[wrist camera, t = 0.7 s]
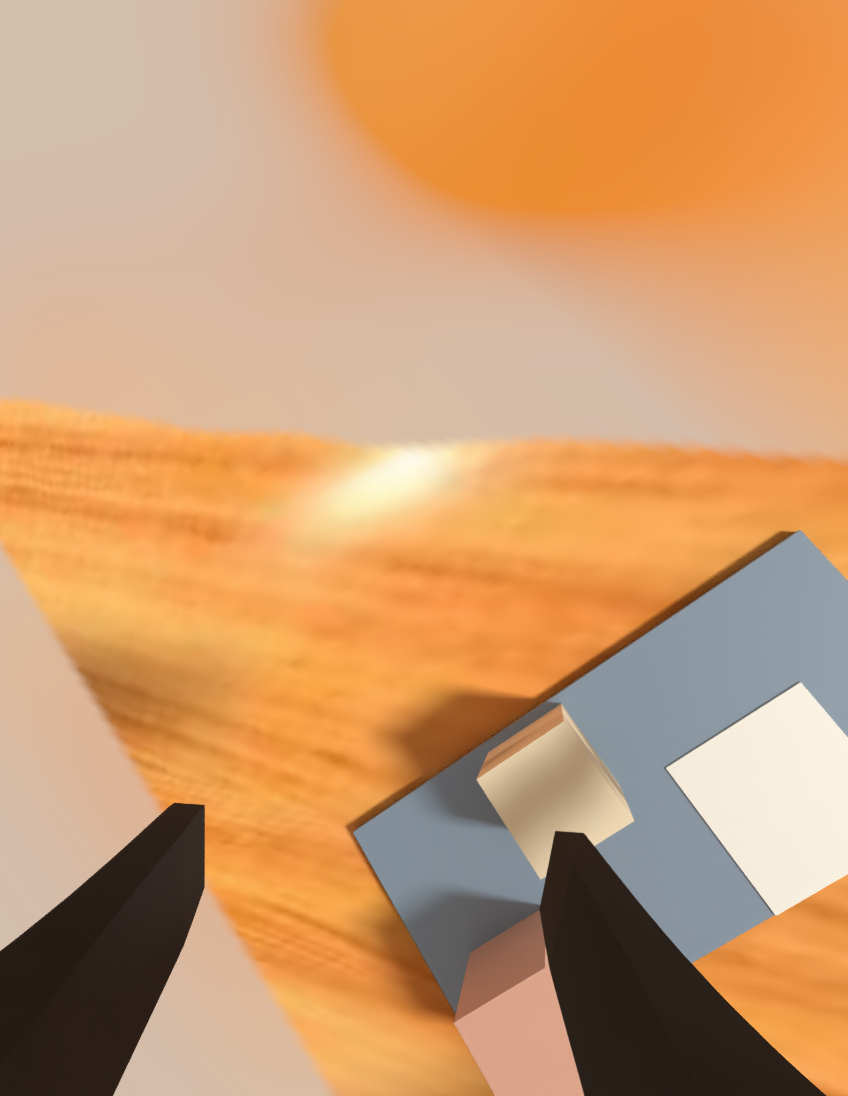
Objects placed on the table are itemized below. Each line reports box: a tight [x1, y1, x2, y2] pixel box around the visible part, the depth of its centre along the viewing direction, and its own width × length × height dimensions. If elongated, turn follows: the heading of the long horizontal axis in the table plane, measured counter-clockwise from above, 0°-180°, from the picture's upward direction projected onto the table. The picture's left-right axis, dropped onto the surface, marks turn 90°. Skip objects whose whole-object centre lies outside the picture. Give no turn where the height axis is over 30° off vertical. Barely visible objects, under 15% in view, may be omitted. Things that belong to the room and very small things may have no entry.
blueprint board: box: [353, 530, 848, 1014], centre depth 27 cm, size 14×30×1 cm, turn 125°
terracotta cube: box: [454, 910, 584, 1096], centre depth 25 cm, size 5×5×5 cm
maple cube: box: [476, 704, 634, 879], centre depth 26 cm, size 5×5×5 cm
